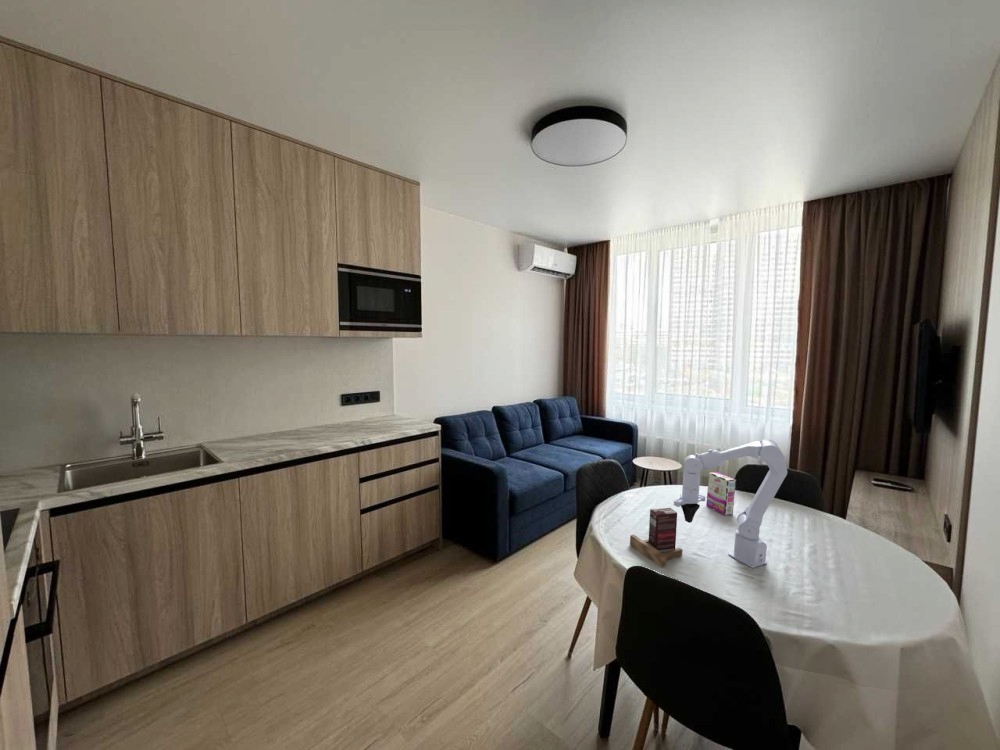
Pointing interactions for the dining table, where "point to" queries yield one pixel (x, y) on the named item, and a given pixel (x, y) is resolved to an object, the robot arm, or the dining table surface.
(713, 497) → the candy bar box
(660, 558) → the end holder
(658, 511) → the supplement box
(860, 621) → the dining table surface
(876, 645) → the dining table surface
